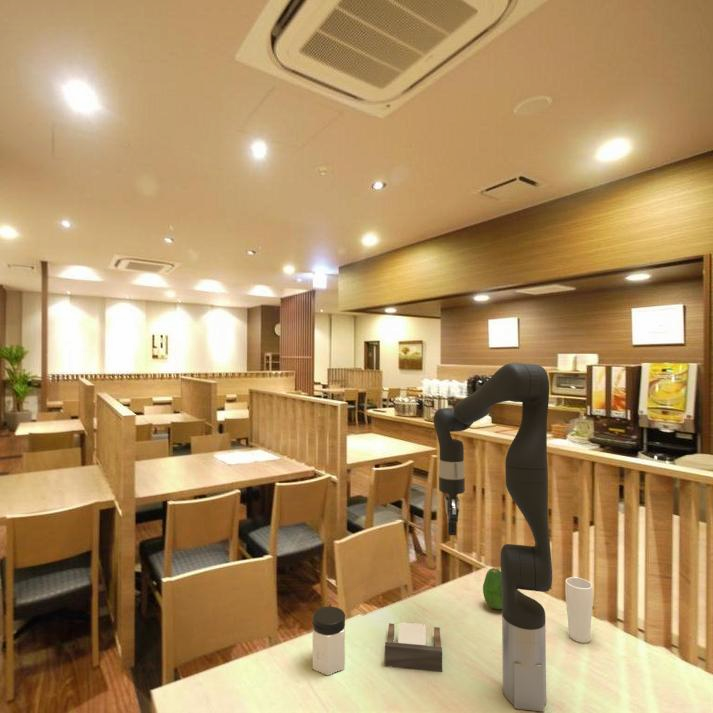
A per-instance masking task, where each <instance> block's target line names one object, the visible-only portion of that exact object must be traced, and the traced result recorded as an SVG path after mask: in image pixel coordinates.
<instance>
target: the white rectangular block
mask: <svg viewBox="0 0 713 713" xmlns="http://www.w3.org/2000/svg"><path fill="white" fill-rule="evenodd" d="M426 630H427V629H426V624H425V623H413V622H402V621H401V622H400V621H399V625H398V640H397V643H401V644H413V645H424V646H427V632H426Z"/></svg>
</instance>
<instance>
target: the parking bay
mask: <svg viewBox="0 0 713 713" xmlns="http://www.w3.org/2000/svg"><path fill="white" fill-rule="evenodd" d="M440 628H441V627H436V626H434V627H433V638H434V640H433V641H434V645H426V646H424V645H413V644H401V643H398V642H394V641H393V640H394V639H395V623H388V629H387V634H386V635H387V637H386V641H385V643H384V667H388V666H392V667H391V668H398V667H399V668H400V669H409V670H417V671H418V670H419V671H420V670H421V671H429V672H440V673H443V647H442V641H441V629H440Z"/></svg>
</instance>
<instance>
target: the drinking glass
mask: <svg viewBox="0 0 713 713" xmlns="http://www.w3.org/2000/svg"><path fill="white" fill-rule="evenodd" d="M564 583H565V586H564V587H565V588H564V589H565V590H564V591H565V592H564V593H565V603H566V604H565V606H566V613H567V614H566V615H567V625H568V636H569V638H571V639H572V640H573V641H574V642H577V643H581V644H587V643H589V642H590V641H591V637H592V636H591V631H592V629H591V628H592V616H593V607H594V591H593V590H594V589H593V584H592V583H591V582H590V581H589V580H587V579H585V578H581V577H578V576H577V577H576V576H570V577H568V578H566V579H565V582H564Z"/></svg>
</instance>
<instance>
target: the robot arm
mask: <svg viewBox="0 0 713 713" xmlns="http://www.w3.org/2000/svg"><path fill="white" fill-rule="evenodd" d="M549 399H550V380H549V375H548V373H547V370H546V369H545V368H544V367H543V366H541V365H539V364H533V363H521V362H519V363H518V362H512V363H511V362H510V363H507V364H504V365H503V366H501V367H500V368H498V369H497V370H496V372H495V373H493V374H492V375H491V376H490V377H489V378H488V379H487V380H486V381H485V382H484V383H483V384H482V385H481V386H480V387H479V388H478V389H477V390H475V391H474V392H472V393H471V394H469V395H467V396H466V397H464V398H462V399H461V400H459V401H457V403H456V404H455V405H454V407H445V408H444V407H443V408H439V409H437V410H436V411H435V413H434V414H433V426H434V430H435V433H436V438H437V441H438V445H439V464H438V490H439V492H441V493H443V494H446V496H444V503H445V504H444V505H445V513H446V515H445V516H446V520H447V533H448V536H456V535H457V523H458V521H459V512H460V508H459V506H460V499H459V496H457V495H460V494H461V495H462V494H463V493H465V492H466V490H465V487H466V483H465V480H466V477H465V474H466V472H465V470H466V469H465V468H466V467H465V462H464V460H465V458H464V455H465V453H464V452H465V451H464V450H465V449H464V444H463V442H462V440H459V439H454V438H453V437H452V435H451V433H454V432H455V433H456V432H457V433H458V432H464V431H465V430H468V429H470V428H471V426H472V425H473V424H474V423H475V422H478V421H480V420H482V419H483V418H485V417H486V416H488V415H489V414H490V412H491V411H492V409H493V407H494V405H497V404H500V403H503V402H504V403H505V402H512V403H522V404H521V406H522V407H521V408H522V410H521V421H520V425H519V428H518V430H517V433H516V435H515V436H514V438H513V440H512V442H511V443H510V444H509V445H510V446H509V447H508V450H507V452H506V455H505V462H504V464H505V468H504V469H505V488H506V489H507V491H508V494H509V495H510V497H511V498H512V501H513V502H514V503H515V505H516V506H517V508H518V510H519V511H520V513H521V514H522V516H523V517H524V519H525V521H526V523H527V525H528V526H529V528H530V531H531V533H532V536H533V540H534V545H521V544H511V543H509V544H508V543H505V544H503V546H502V547H501V549H500V550H501V551H500V557H499V558H500V572H501V579H502V609H501V621H502V622H501V625H502V626H501V633H502V635H501V636H502V637H501V638H502V640H501V641H502V644H501V645H502V646H501V648H502V650H501V651H502V653H501V655H502V657H501V658H502V693H503V695H504V697H505V698H506V699H507V701H508V702H509V703H510V704H512V705H513V708H514V709H517V710H524V711H525V710H526V711H527V710H528V711H534V712H545V706H546V705H547V704H546V703H547V654H546V653H547V650H546V645H547V644H546V642H547V641H546V640H547V639H546V636H547V635H546V632H547V631H546V610H545V608H544V607H543V605H542V604H541V603H540V602H538V601H537V600H536V599H535V598H532V597H530V596H528V595H526V594H525V593H522V592H521V591H520V590H522V591H523V590H525V591H533V592H538V593H539V592H540V593H546V592H550V590H551V588H552V583H553V562H552V561H553V560H552V553H551V552H552V550H551V541H550V539H551V538H550V530H549V473H548V472H549V470H548V469H549V468H548V467H549V466H548V451H547V450H548V446H547V442H548V413H549V412H548V411H549V403H550V402H549Z"/></svg>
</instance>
